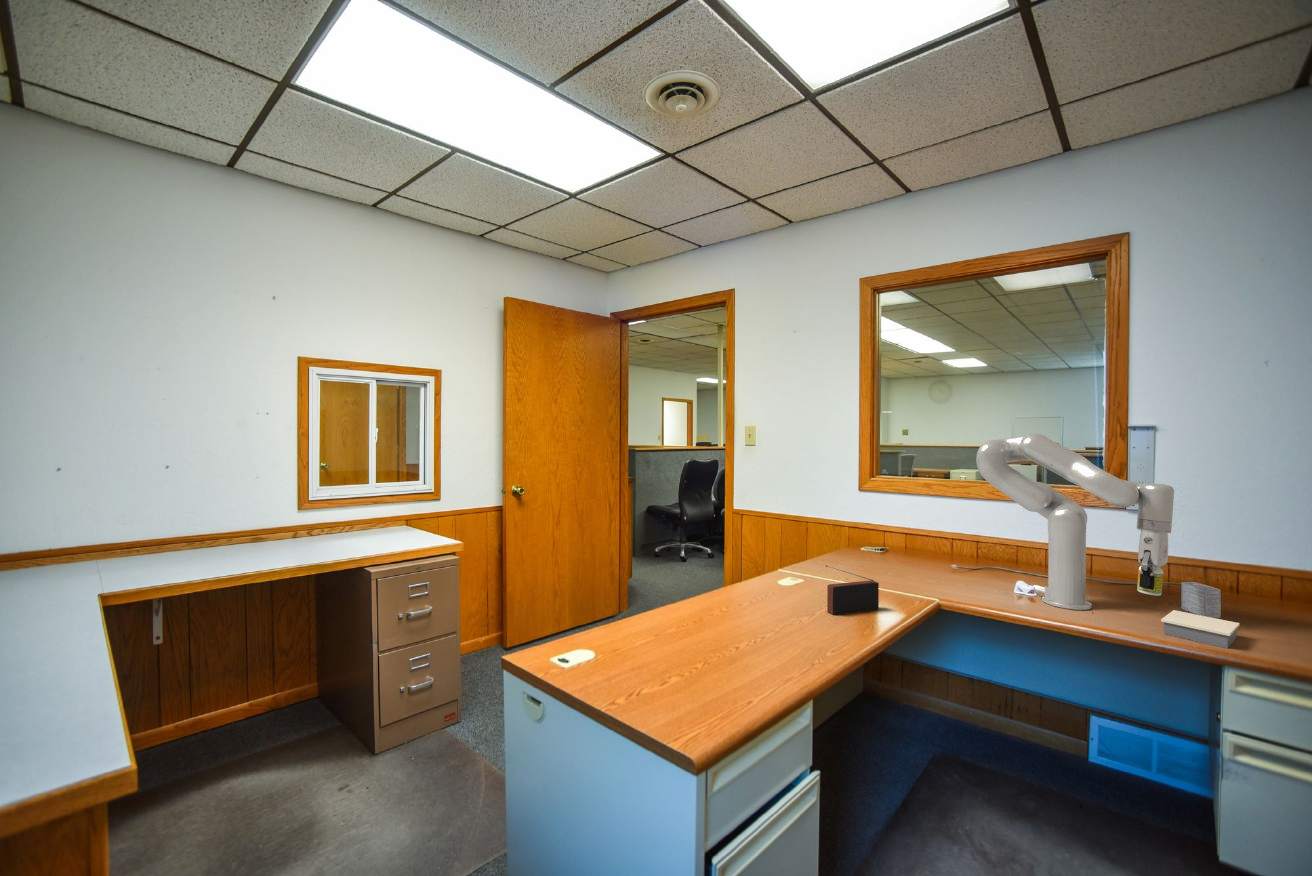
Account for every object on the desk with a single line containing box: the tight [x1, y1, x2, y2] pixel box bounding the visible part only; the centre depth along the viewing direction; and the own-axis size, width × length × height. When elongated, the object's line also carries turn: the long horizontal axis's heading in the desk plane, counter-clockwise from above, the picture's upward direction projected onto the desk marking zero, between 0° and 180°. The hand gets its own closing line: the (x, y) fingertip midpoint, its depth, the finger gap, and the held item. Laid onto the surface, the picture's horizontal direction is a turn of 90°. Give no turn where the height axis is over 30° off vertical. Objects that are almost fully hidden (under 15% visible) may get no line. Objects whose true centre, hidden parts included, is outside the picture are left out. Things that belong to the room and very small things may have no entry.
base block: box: [1160, 609, 1241, 649], centre depth 147 cm, size 13×13×4 cm
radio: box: [825, 565, 880, 616], centre depth 167 cm, size 19×3×15 cm, turn 108°
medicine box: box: [1180, 581, 1222, 619], centre depth 164 cm, size 8×4×9 cm, turn 179°
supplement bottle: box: [1136, 563, 1164, 597], centre depth 161 cm, size 5×5×10 cm
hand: (1149, 586), depth 161 cm, fingers closed on supplement bottle, 5 cm apart
